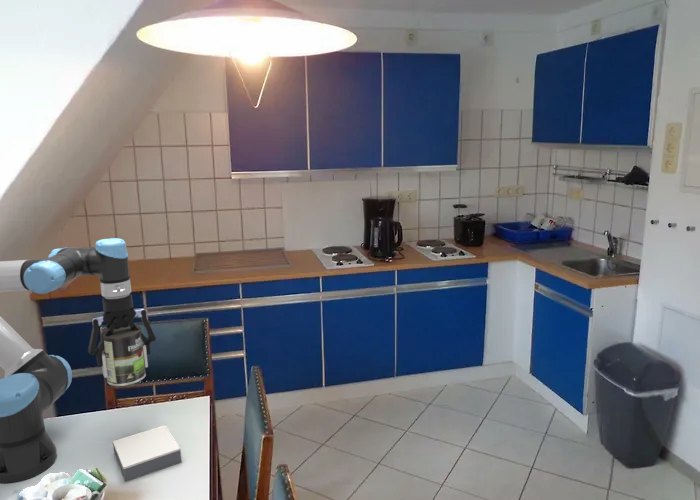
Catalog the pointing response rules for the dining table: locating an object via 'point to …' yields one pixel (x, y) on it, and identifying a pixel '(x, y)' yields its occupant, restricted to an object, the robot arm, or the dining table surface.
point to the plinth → (146, 452)
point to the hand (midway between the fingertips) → (125, 370)
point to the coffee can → (124, 356)
